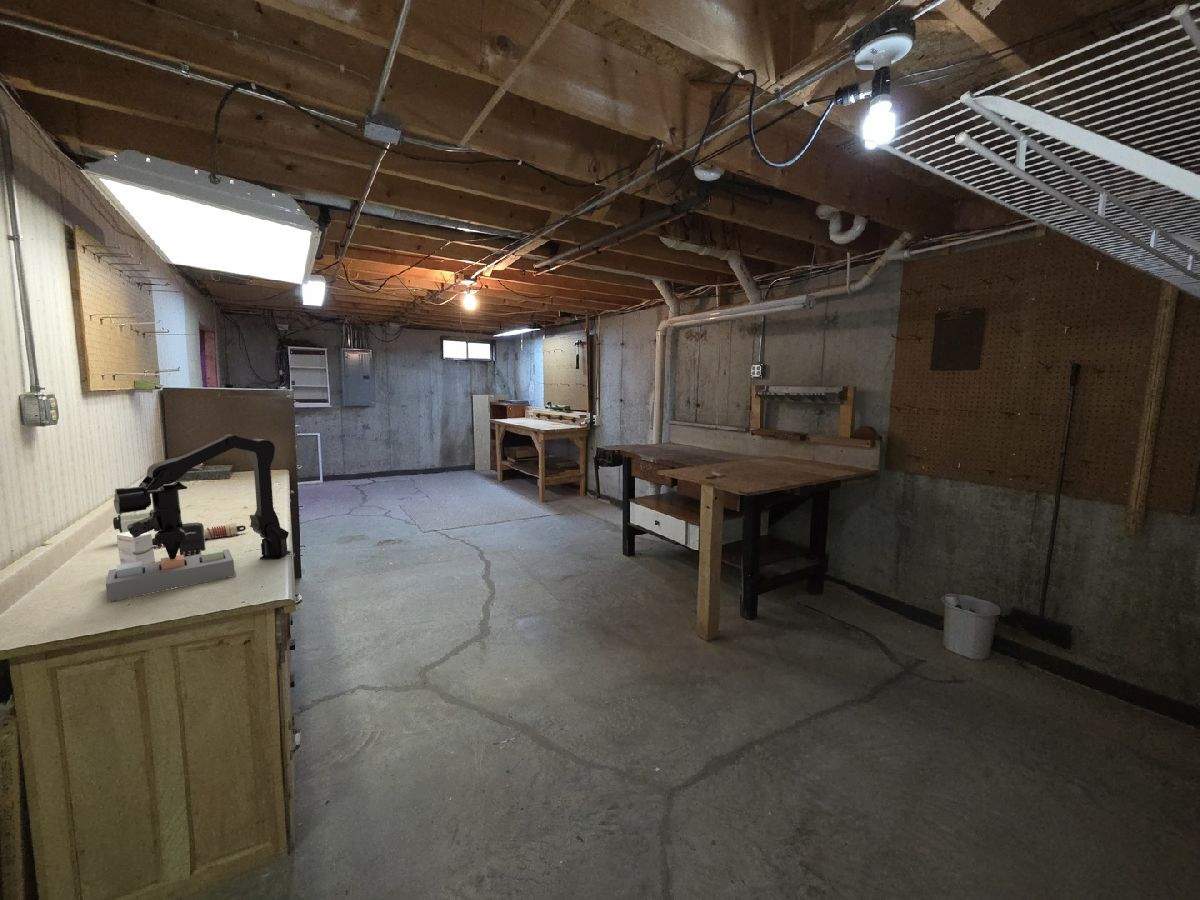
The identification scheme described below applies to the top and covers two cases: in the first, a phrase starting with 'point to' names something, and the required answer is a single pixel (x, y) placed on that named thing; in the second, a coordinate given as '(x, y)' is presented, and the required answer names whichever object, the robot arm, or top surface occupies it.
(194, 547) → the battery charger
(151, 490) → the robot arm
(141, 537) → the ink box
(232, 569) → the button panel
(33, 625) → the top surface
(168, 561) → the terracotta button
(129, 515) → the pneumatic valve
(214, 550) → the sage button
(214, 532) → the shock absorber
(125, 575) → the slate button
